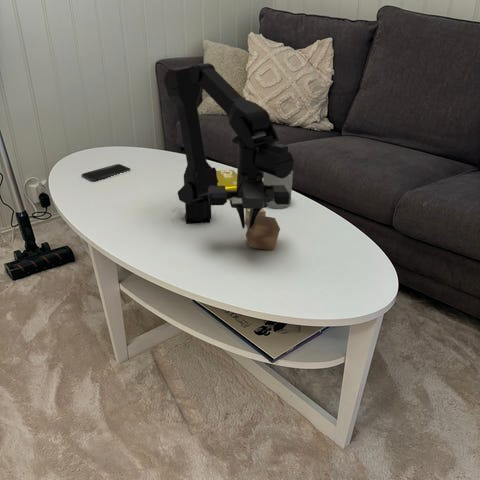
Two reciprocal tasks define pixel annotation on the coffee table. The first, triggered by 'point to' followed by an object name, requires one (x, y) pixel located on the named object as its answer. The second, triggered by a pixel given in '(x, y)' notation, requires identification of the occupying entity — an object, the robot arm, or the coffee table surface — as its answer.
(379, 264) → the coffee table surface
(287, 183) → the cup
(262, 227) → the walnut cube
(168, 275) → the coffee table surface
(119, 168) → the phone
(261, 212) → the oak block
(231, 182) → the element tile
